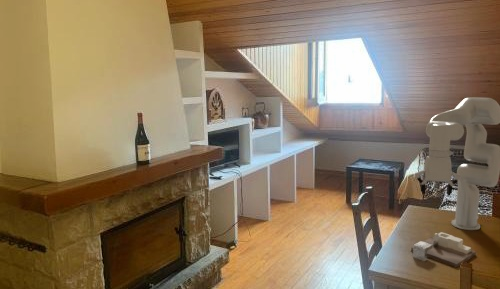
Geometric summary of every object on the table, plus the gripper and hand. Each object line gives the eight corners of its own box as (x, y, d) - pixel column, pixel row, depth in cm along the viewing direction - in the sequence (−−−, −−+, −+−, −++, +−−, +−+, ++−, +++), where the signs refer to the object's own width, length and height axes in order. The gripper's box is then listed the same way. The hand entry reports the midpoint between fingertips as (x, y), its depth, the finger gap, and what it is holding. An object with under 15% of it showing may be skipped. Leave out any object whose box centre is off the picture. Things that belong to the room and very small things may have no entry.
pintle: (434, 245, 167) (435, 232, 166) (439, 246, 165) (440, 233, 164) (432, 246, 166) (433, 233, 165) (436, 247, 164) (437, 234, 163)
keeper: (420, 252, 163) (421, 240, 162) (431, 257, 159) (432, 244, 158) (412, 257, 159) (413, 244, 158) (424, 261, 156) (425, 248, 155)
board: (431, 240, 175) (431, 237, 175) (475, 254, 160) (475, 251, 160) (411, 250, 165) (411, 247, 165) (456, 267, 150) (456, 264, 150)
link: (434, 243, 168) (435, 235, 168) (440, 240, 171) (441, 232, 171) (466, 254, 158) (466, 245, 157) (471, 250, 161) (472, 241, 160)
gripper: (459, 152, 158) (455, 192, 161) (414, 151, 162) (412, 190, 165) (464, 156, 151) (461, 198, 154) (418, 154, 155) (415, 195, 158)
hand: (435, 193), depth 160 cm, fingers open, 9 cm apart
